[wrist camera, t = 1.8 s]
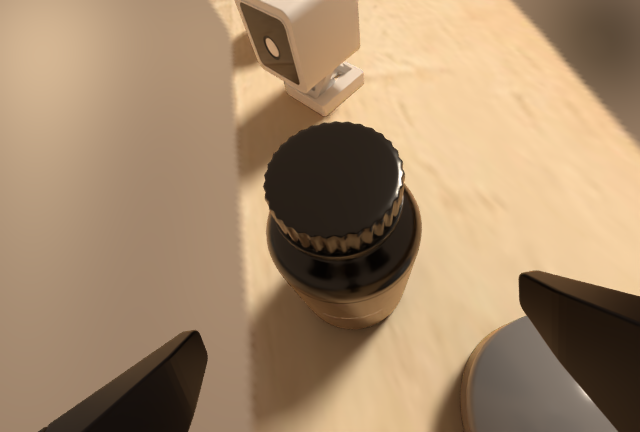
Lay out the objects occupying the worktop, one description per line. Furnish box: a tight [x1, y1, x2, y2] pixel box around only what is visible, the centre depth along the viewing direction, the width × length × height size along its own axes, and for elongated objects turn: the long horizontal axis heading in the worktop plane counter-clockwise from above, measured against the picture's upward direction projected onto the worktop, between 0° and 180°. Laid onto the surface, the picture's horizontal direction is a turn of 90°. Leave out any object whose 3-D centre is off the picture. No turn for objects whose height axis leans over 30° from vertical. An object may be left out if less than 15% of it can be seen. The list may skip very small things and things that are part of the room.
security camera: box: [235, 0, 364, 116], centre depth 25 cm, size 6×7×10 cm
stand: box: [460, 316, 618, 432], centre depth 14 cm, size 10×10×3 cm
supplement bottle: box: [263, 121, 422, 329], centre depth 15 cm, size 7×7×12 cm
